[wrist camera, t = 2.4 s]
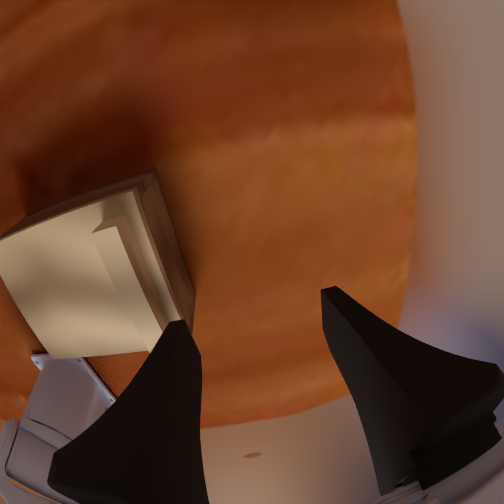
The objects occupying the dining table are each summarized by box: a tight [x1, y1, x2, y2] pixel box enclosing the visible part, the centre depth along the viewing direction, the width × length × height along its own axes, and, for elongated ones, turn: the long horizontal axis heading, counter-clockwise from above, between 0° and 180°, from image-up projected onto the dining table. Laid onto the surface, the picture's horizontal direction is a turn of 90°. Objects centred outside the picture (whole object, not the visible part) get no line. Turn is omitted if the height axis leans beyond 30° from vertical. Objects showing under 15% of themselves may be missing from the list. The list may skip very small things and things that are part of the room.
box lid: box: [0, 188, 191, 359], centre depth 15 cm, size 10×12×2 cm
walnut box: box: [0, 169, 196, 335], centre depth 18 cm, size 10×12×5 cm
